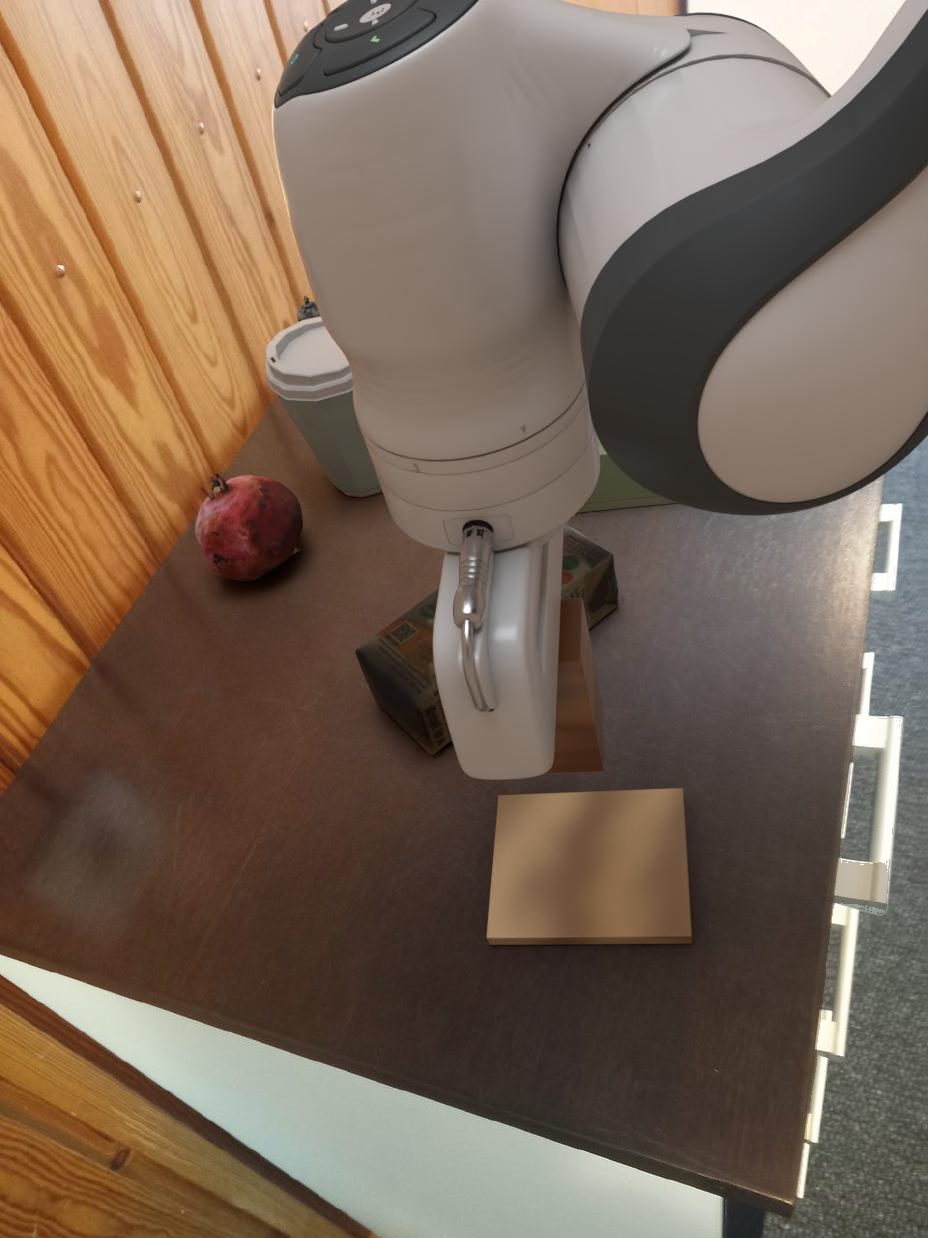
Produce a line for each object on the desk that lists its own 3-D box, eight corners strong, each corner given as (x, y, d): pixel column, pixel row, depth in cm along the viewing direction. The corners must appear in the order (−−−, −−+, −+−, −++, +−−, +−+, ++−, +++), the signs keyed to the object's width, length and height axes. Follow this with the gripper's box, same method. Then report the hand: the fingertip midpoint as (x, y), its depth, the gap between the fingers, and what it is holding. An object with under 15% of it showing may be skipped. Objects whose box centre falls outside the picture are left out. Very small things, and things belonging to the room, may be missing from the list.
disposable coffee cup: (398, 426, 101) (354, 288, 90) (443, 482, 93) (400, 339, 82) (300, 472, 99) (242, 337, 88) (337, 532, 92) (279, 393, 81)
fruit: (337, 549, 90) (300, 460, 83) (251, 614, 87) (205, 527, 80) (279, 510, 96) (239, 423, 88) (196, 570, 92) (148, 485, 85)
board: (684, 796, 66) (683, 787, 65) (692, 944, 59) (691, 936, 59) (500, 803, 69) (497, 794, 68) (489, 945, 62) (486, 938, 61)
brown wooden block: (603, 710, 56) (582, 596, 49) (603, 772, 53) (581, 660, 47) (513, 715, 57) (480, 604, 51) (508, 776, 54) (473, 667, 48)
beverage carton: (627, 607, 78) (618, 545, 73) (434, 765, 72) (410, 708, 67) (556, 561, 83) (543, 500, 78) (369, 705, 77) (343, 648, 72)
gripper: (554, 638, 33) (604, 855, 43) (570, 299, 47) (604, 523, 57) (368, 652, 35) (457, 859, 44) (435, 319, 48) (492, 534, 58)
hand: (540, 668), depth 51 cm, fingers closed on brown wooden block, 4 cm apart
